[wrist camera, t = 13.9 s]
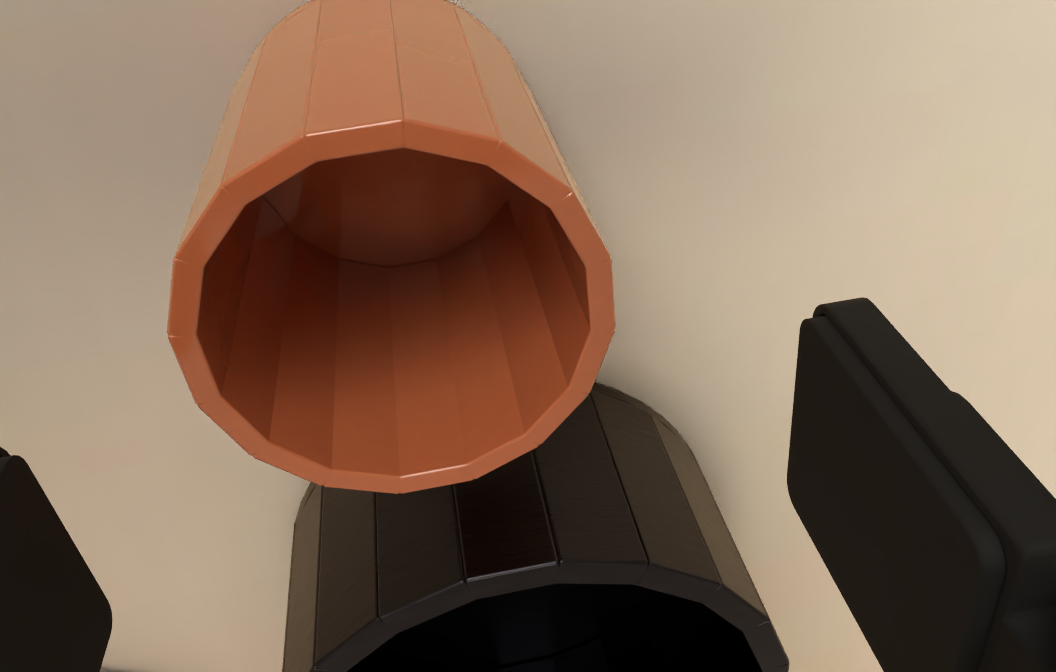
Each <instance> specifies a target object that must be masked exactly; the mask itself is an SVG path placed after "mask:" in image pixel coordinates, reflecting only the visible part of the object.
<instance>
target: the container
mask: <svg viewBox="0 0 1056 672" xmlns="http://www.w3.org/2000/svg"><path fill="white" fill-rule="evenodd" d="M614 329H615V310H614V292H613V275H612V260H611V258H610V254H609V252H608V250H607V247H606V245H605V243H604V241H603V239H602V237H601V235H600V233H599V231H598V229H597V227H596V225H595V223H594V221H593V218H592V216H591V214H590V212H589V210H588V208H587V206H586V204H585V202H584V200H583V198H582V196H581V194H580V192H579V189H578V187H577V185H576V183H575V181H574V179H573V177H572V175H571V173H570V171H569V169H568V167H567V165H566V163H565V160H564V158H563V156H562V154H561V152H560V150H559V148H558V146H557V144H556V142H555V140H554V138H553V136H552V134H551V131H550V129H549V127H548V125H547V123H546V121H545V119H544V117H543V115H542V113H541V111H540V109H539V107H538V104H537V102H536V100H535V98H534V96H533V94H532V93H531V91H530V89H529V87H528V85H527V84H526V82H525V80H524V78H523V76H522V75H521V73H520V71H519V69H518V67H517V65H516V63H515V62H514V60H513V59H512V57H511V55H510V53H509V52H508V50H507V48H506V46H504V45H503V43H502V42H501V41H499V40H498V39H497V37H496V36H495V35H494V34H493V33H492V32H491V31H490V30H489V29H488V28H487V27H486V26H484V25H483V24H482V23H481V22H480V21H479V20H478V19H476V18H475V17H473V16H472V15H470V14H469V13H467V12H466V11H464V10H463V9H461V8H460V7H458V6H456V5H454V4H452V3H450V2H448V1H446V0H312V1H310V2H308V3H307V4H305V5H303V6H301V7H299V8H297V9H296V10H294V11H293V12H292V13H290V14H289V15H288V16H286V17H285V18H284V19H282V20H281V21H280V22H278V24H277V25H276V26H275V27H274V28H273V29H272V30H271V31H270V32H269V33H268V34H267V35H266V36H265V37H264V38H263V39H262V41H261V42H260V43H259V45H258V46H257V48H256V49H255V50H254V52H253V53H252V55H251V57H250V59H249V61H248V62H247V64H246V66H245V68H244V70H243V73H242V74H241V76H240V77H239V79H238V80H237V82H236V84H235V86H234V89H233V91H232V94H231V97H230V100H229V103H228V106H227V108H226V111H225V114H224V117H223V120H222V123H221V126H220V128H219V131H218V134H217V137H216V140H215V143H214V145H213V148H212V151H211V154H210V157H209V160H208V162H207V165H206V168H205V171H204V174H203V177H202V180H201V182H200V185H199V188H198V191H197V194H196V197H195V199H194V202H193V205H192V208H191V211H190V214H189V216H188V219H187V222H186V225H185V228H184V231H183V234H182V236H181V239H180V242H179V245H178V248H177V251H176V253H175V256H174V259H173V269H172V280H171V292H170V303H169V315H168V326H167V333H168V339H169V341H170V343H171V346H172V348H173V351H174V353H175V355H176V358H177V360H178V362H179V365H180V367H181V370H182V372H183V374H184V377H185V379H186V381H187V384H188V386H189V389H190V391H191V393H192V396H193V398H194V400H195V403H196V404H198V407H199V408H200V409H201V410H202V411H203V412H204V413H205V414H207V415H208V416H209V417H210V418H211V419H212V420H213V421H214V422H215V423H216V424H217V425H218V426H219V427H220V428H222V429H223V430H224V431H225V432H226V433H227V434H228V435H229V436H230V437H231V438H232V439H233V440H234V441H235V442H237V443H238V444H239V445H240V446H241V447H242V448H243V449H244V450H245V451H246V452H247V453H248V454H249V455H251V456H253V457H254V458H256V459H258V460H261V461H263V462H265V463H268V464H270V465H272V466H275V467H277V468H280V469H282V470H284V471H287V472H289V473H291V474H294V475H296V476H298V477H301V478H303V479H306V480H308V481H310V482H313V483H315V484H317V485H320V486H323V485H324V487H329V488H340V489H350V490H360V491H370V492H381V493H391V494H399V493H401V494H404V493H409V492H415V491H420V490H425V489H430V488H436V487H441V486H446V485H451V484H457V483H462V482H467V481H472V480H473V479H478V478H480V477H481V476H483V475H485V474H487V473H489V472H491V471H493V470H495V469H497V468H499V467H501V466H503V465H504V464H506V463H508V462H510V461H512V460H514V459H516V458H518V457H520V456H522V455H524V454H526V453H528V452H529V451H531V450H533V449H535V448H537V447H538V446H539V445H541V444H542V443H543V442H544V441H545V440H546V439H547V438H548V437H549V436H550V435H551V434H552V433H553V432H554V431H555V430H556V429H557V428H558V427H559V426H560V425H561V423H562V422H563V421H564V420H565V419H566V418H567V417H568V416H569V415H570V414H571V413H572V412H573V411H574V410H575V409H576V408H577V407H578V406H579V405H580V404H581V403H582V402H583V401H584V400H585V398H586V397H587V396H588V394H589V393H590V391H591V389H592V386H593V384H594V382H595V379H596V377H597V374H598V372H599V369H600V367H601V364H602V362H603V359H604V357H605V354H606V352H607V349H608V347H609V344H610V342H611V339H612V337H613V334H614V332H615V331H614Z"/></svg>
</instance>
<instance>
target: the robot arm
mask: <svg viewBox="0 0 1056 672" xmlns="http://www.w3.org/2000/svg"><path fill="white" fill-rule="evenodd" d="M787 485H788V491H789V495H790V498H791V501H792V504H793V506H794V508H795V510H796V512H797V514H798V515H799V517H800V519H801V521H802V523H803V525H804V526H805V528H806V530H807V532H808V534H809V536H810V537H811V539H812V541H813V543H814V545H815V547H816V548H817V550H818V552H819V554H820V556H821V558H822V559H823V561H824V563H825V565H826V567H827V568H828V570H829V572H830V574H831V576H832V578H833V579H834V581H835V583H836V585H837V587H838V589H839V590H840V592H841V594H842V596H843V598H844V600H845V601H846V603H847V605H848V607H849V609H850V611H851V612H852V614H853V616H854V618H855V620H856V622H857V623H858V625H859V627H860V629H861V631H862V633H863V634H864V636H865V638H866V640H867V642H868V644H869V645H870V647H871V649H872V651H873V653H874V655H875V656H876V658H877V660H878V662H879V664H880V665H881V667H882V669H883V671H884V672H1056V499H1055V498H1054V497H1053V496H1052V494H1051V493H1050V492H1049V491H1048V490H1047V489H1046V488H1045V487H1044V486H1043V484H1042V483H1041V482H1040V481H1039V480H1038V479H1037V478H1036V477H1035V475H1034V474H1033V473H1032V472H1031V471H1030V470H1029V469H1028V468H1027V467H1026V465H1025V464H1024V463H1023V462H1022V461H1021V460H1020V459H1019V458H1018V457H1017V455H1016V454H1015V453H1014V452H1013V451H1012V450H1011V449H1010V448H1009V447H1008V445H1007V444H1006V443H1005V442H1004V441H1003V440H1002V439H1001V438H1000V436H999V435H998V434H997V433H996V432H995V431H994V430H993V429H992V428H991V426H990V425H989V424H988V423H987V422H986V421H985V420H984V419H983V418H982V416H981V415H980V414H979V413H978V412H977V411H976V410H975V409H974V408H973V406H972V405H971V404H970V403H969V402H968V401H967V400H966V399H964V398H963V397H962V396H961V395H960V394H958V393H955V392H952V391H950V390H949V389H948V387H947V386H946V385H945V384H944V383H943V382H942V381H941V379H940V378H939V377H938V376H937V375H936V374H935V373H934V372H933V370H932V369H931V368H930V367H929V366H928V365H927V364H926V363H925V361H924V360H923V359H922V358H921V357H920V356H919V355H918V353H917V352H916V351H915V350H914V349H913V348H912V347H911V346H910V344H909V343H908V342H907V341H906V340H905V339H904V338H903V337H902V335H901V334H900V333H899V332H898V331H897V330H896V329H895V328H894V326H893V325H892V324H891V323H890V322H889V321H888V320H887V318H886V317H885V316H884V315H883V314H882V313H881V312H880V311H879V309H878V308H877V307H876V306H875V305H874V304H873V303H872V302H871V301H870V300H869V299H867V298H856V299H851V300H845V301H839V302H833V303H827V304H821V305H819V306H817V307H816V309H815V311H814V313H813V318H809V319H805V320H803V322H802V324H801V327H800V334H799V346H798V357H797V368H796V380H795V391H794V403H793V414H792V425H791V437H790V448H789V460H788V471H787ZM111 629H112V612H111V608H110V604H109V602H108V600H107V598H106V597H105V595H104V593H103V591H102V590H101V588H100V586H99V585H98V583H97V581H96V580H95V578H94V576H93V574H92V573H91V571H90V569H89V568H88V566H87V564H86V563H85V561H84V559H83V557H82V556H81V554H80V552H79V551H78V549H77V547H76V546H75V544H74V542H73V540H72V539H71V537H70V535H69V534H68V532H67V530H66V529H65V527H64V525H63V523H62V522H61V520H60V518H59V517H58V515H57V513H56V512H55V510H54V508H53V507H52V505H51V503H50V501H49V500H48V498H47V496H46V495H45V493H44V491H43V490H42V488H41V486H40V484H39V483H38V481H37V479H36V478H35V476H34V474H33V473H32V471H31V469H30V467H29V466H28V464H27V463H26V461H25V460H24V459H23V458H21V457H20V456H16V455H13V456H10V455H9V454H8V452H7V451H6V450H4V449H3V448H1V447H0V672H99V671H100V668H101V665H102V661H103V658H104V655H105V651H106V648H107V644H108V641H109V638H110V634H111Z"/></svg>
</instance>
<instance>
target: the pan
mask: <svg viewBox="0 0 1056 672" xmlns="http://www.w3.org/2000/svg"><path fill="white" fill-rule="evenodd" d="M788 670H789V659H788V657H787V655H786V653H785V651H784V648H783V646H782V644H781V642H780V640H779V638H778V635H777V633H776V631H775V629H774V627H773V625H772V622H771V620H770V618H769V616H768V614H767V612H766V609H765V607H764V605H763V603H762V601H761V599H760V597H759V594H758V592H757V590H756V588H755V586H754V584H753V581H752V579H751V577H750V575H749V573H748V571H747V569H746V566H745V564H744V562H743V560H742V558H741V556H740V553H739V551H738V549H737V547H736V545H735V543H734V541H733V538H732V536H731V534H730V532H729V530H728V528H727V526H726V523H725V521H724V519H723V517H722V515H721V513H720V510H719V508H718V506H717V504H716V502H715V500H714V498H713V495H712V493H711V491H710V489H709V487H708V485H707V482H706V480H705V478H704V476H703V474H702V472H701V470H700V467H699V465H698V463H697V461H696V459H695V457H694V454H693V452H692V450H691V449H690V448H689V446H688V445H687V443H686V442H685V441H684V439H683V438H682V437H681V435H680V434H679V433H678V431H677V430H676V429H675V428H674V427H673V426H672V425H671V424H670V423H669V422H667V421H666V420H665V419H664V418H663V417H662V416H661V415H660V414H658V413H657V412H655V411H654V410H652V409H651V408H649V407H648V406H647V405H645V404H644V403H642V402H640V401H638V400H636V399H634V398H632V397H630V396H628V395H626V394H624V393H622V392H620V391H617V390H614V389H611V388H608V387H605V386H602V385H600V384H597V383H594V384H593V386H592V389H591V391H590V393H589V394H588V396H587V397H586V398H585V400H584V401H583V402H582V403H581V404H580V405H579V406H578V407H577V408H576V409H575V410H574V411H573V412H572V413H571V414H570V415H569V416H568V417H567V418H566V419H565V420H564V421H563V422H562V423H561V425H560V426H559V427H558V428H557V429H556V430H555V431H554V432H553V433H552V434H551V435H550V436H549V437H548V438H547V439H546V440H545V441H544V442H543V443H542V444H541V445H539V446H538V447H537V448H535V449H533V450H531V451H529V452H528V453H526V454H524V455H522V456H520V457H518V458H516V459H514V460H512V461H510V462H508V463H506V464H504V465H503V466H501V467H499V468H497V469H495V470H493V471H491V472H489V473H487V474H485V475H483V476H481V477H480V478H478V479H473V480H472V481H467V482H462V483H457V484H451V485H446V486H441V487H436V488H430V489H425V490H420V491H415V492H409V493H404V494H401V493H399V494H391V493H381V492H370V491H360V490H350V489H340V488H329V487H324V485H323V486H320V485H317V484H315V483H313V482H311V484H310V486H309V488H308V490H307V492H306V494H305V496H304V498H303V500H302V502H301V505H300V508H299V511H298V515H297V518H296V521H295V524H294V535H293V546H292V557H291V568H290V580H289V593H288V605H287V617H286V630H285V642H284V654H283V666H282V672H788Z"/></svg>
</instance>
